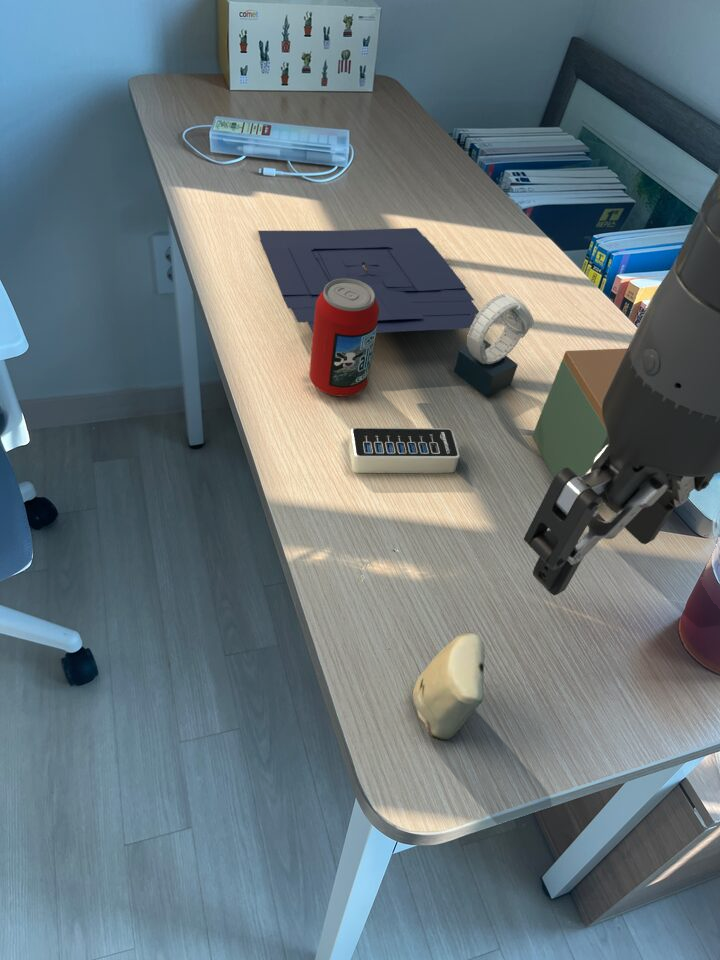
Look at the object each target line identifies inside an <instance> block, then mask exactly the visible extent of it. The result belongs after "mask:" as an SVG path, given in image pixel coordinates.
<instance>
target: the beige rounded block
mask: <svg viewBox="0 0 720 960" xmlns="http://www.w3.org/2000/svg"><path fill="white" fill-rule="evenodd" d="M484 673H485V644H484V641H483V639H482V637H481V636H480V635H479V634H477V633H475V632H472V631H464V632H462V633H459V634H457V635H456V637H454V639H453V640H452V641H451V642H449V643H448V644H447V645H446V646H445V647H443V649H441V650H440V651H439V652H438V653H437V654H436V655H435V656H434V657H433V658H432V660H431V661H430V662H429V664H428V665H427V666H426V668H425V669H424V670H423V671H422V672H421V674H420V675H419V676H418V677H417V679H416V681H415V685H414V688H413V690H412V691H413V692H412V698H413V702H414V705H415V708H416V712H417V716H418V717H419V719H420V720H421V721H422V722H423V723H424V726H425V728H426V731H427V733H428V734H429V735H430V737H431V738H433V739H437V740H440V741H443V742H444V741H449V740H450V739H451V738H452V737H453V736H455V735H456V733H457V732H458V731H459V730H460V729H461V728H462V726H463V725H464V724H465V722H466V721H467V720H468V719H469V717H470V716H471V715H472V714H473V713H474V711H475V710H476V709H477V708H478V707H479V706H480V705H481V703H482V702H483V700H484V680H485V679H484V675H485V674H484Z"/></svg>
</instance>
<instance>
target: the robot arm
mask: <svg viewBox="0 0 720 960" xmlns="http://www.w3.org/2000/svg"><path fill="white" fill-rule="evenodd" d="M705 196H706V197H705V198H704V200H703V202H702V203H701V206H700V208H699V209H698V212H697V214H696V216H695V218H694V220H693V222H692V224H691V226H690V229H689V231H688V233H687V235H686V237H685V239H684V241H683V244H682V245H681V247H680V249H679V252H678V254H677V256H676V258H675V260H674V262H673V264H672V266H671V267H670V269H669V270H668V272H667V273H666V275H665V276H664V278H663V280H662V281H661V283H660V284H659V285H658V287H657V288H656V290H655V291H654V293H653V295H652V297H651V299H650V301H649V303H648V305H647V307H646V309H645V311H644V313H643V315H642V317H641V319H640V321H639V324H638V326H637V327H636V329H635V332H634V334H633V336H632V338H631V340H630V342H629V345H628V347H627V348H628V349H627V351H626V353H625V355H624V357H623V359H622V361H621V363H620V366H619V368H618V370H617V372H616V374H615V376H614V378H613V380H612V382H611V385H610V387H609V389H608V391H607V393H606V395H605V397H604V400H603V404H602V415H603V420H604V423H605V426H606V430H607V435H608V441H609V444H607V445H606V446H605V447H604V448H603V450H602V451H601V452H600V453H599V454H598V455H597V456H596V457H595V459H594V464H593V466H592V468H591V469H590V470H589V471H588V472H587V473H586V474H585V475H583V476H580V477H579V476H578V475H577V474H576V473H574V472H573V471H572V470H571V469H570V468H569V467H567V468H564V469H562V470H561V471H560V472H558V473H557V475H556V476H555V477H554V478H553V479H552V481H551V483H550V485H549V487H548V489H547V491H546V493H545V495H544V497H543V499H542V501H541V502H540V505H539V507H538V509H537V511H536V513H535V515H534V517H533V519H532V521H531V523H530V525H529V526H528V529H527V531H526V533H525V534H524V536H523V541H524V542H525V543H527V545H528V546H529V547H530V548H531V549H532V550H533V551H534V553H536V554H537V555H538V559H537V561H536V563H535V565H534V567H533V570H532V576H533V577H534V578H535V579H536V580H537V581H538V582H539V584H541V586H542V587H543V588H544V589H546V591H547V592H549V593H550V594H551V595H553V596H557V595H559V594H561V593H563V592H564V591H566V590H567V587H568V586H569V584H570V582H571V580H572V579H573V577H574V576H575V573H576V571H577V570H578V568H579V566H580V565H581V562H582V561H583V559H584V557H585V556H586V555H587V554H588V553H589V552H590V551H591V550H592V549H593V548H594V547H595V546H596V545H597V544H598V543H599V542H600V541H601V540H602V539H605V540H612V539H615V538H616V537H617V536H618V535H619V533H621V532H622V530H624V529H625V530H626V531H627V532H628V533H630V535H631V536H633V537H634V539H636V541H638V542H639V543H640V544H642V545H647V544H648V543H650V542H652V541H654V540H655V539H656V538H657V536H658V535H659V533H660V532H661V530H662V529H663V527H664V525H665V523H666V522H667V521H668V520H669V518H670V516H671V514H672V513H673V512H674V510H675V508H678V507H681V506H683V505H684V504H685V503H686V502H688V499H689V498H690V494H691V492H692V491H693V490H695V491H696V492H701V491H702V490H705V489H706V488H707V487H708V486H709V485H710V482H711V481H712V480H713V478H714V477H715V475H717V474H719V473H720V167H719V168H718V173H717V176H716V178H715V180H714V181H713V183H712V185H711V187H710V188H709V190H708V191H707V194H706V195H705ZM601 503H603V504H604V505H605V506H606V507H607V508H608V509H609V510H610V511H612V512H613V513H615V515H614V516H613V517H612V518H611V519H609V520H607V521H606V519H605V518H604V517H602V516H601V514H599V513H600V510H599V509H598V508H599V507H600V505H601ZM587 527H588V531H587V532H586V534H584V532H585V530H586V529H587ZM583 534H584V536H582V535H583ZM581 537H582V538H581Z"/></svg>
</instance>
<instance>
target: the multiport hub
mask: <svg viewBox="0 0 720 960" xmlns="http://www.w3.org/2000/svg"><path fill="white" fill-rule="evenodd" d="M348 451H349V457H350V465H351V470H352V472H353V473H355V474H453V473H455V472H456V469H457V465H458V463H459V459H460V451H459V449H458V444H457V441H456V438H455V434H454V431H453V430H452V429H451V428H435V427H434V428H432V427H431V428H430V427H429V428H427V427H426V428H421V427H420V428H418V427H353V428H351V429H350V434H349V441H348Z"/></svg>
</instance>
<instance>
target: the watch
mask: <svg viewBox="0 0 720 960" xmlns="http://www.w3.org/2000/svg"><path fill="white" fill-rule="evenodd" d="M474 318H475V319H474V321H473V323H472V325H471V327H470V328H469V331H468V334H467V335H466V346H467V347H465V348H463V349H460V350H459V351H458V354H457V359H456V362H455V366H454V369H453V373H454V374H455V375H457V376H458V377H460V378H461V379H462V380H464V381H465V382H466V383H467V384H468V385H470V386H471V387H472V388H474V389H475V390H476V391H477V392H478V393H480V394H481V395H482V396H484V397H485V398H488V397H490V396H492V395H494V394H496V393H498V392H500V391H502V390H504V389H506V388H508V387H510V386H511V385H512V382H513V380H514V377H515V375H516V371H517V369H518V366H519V364H518V363H517V362H516V361H514V360H512V359H511V358H510V357H508V355H509V354H510V353H511V352H512V351H513V350H514V348H515V347H516V346H517V345H518V343H519V341H520V340H521V339H523V338H524V337H525V336H526V334H527V333H528V332H529V330H530V329H531V328H533V326H534V324H535V320H534V317H533V315H532V313H531V311H530V309H528V307H527V306H526V304H524V303H523V302H522V301H521V300H520V299H519V298H518V297H516V296H515V295H512V294H510V293H499V294H498V295H496V296H495V297H493V298H491V299H490V300H489V301H488V302H486V303H485V304H484V305H483V307H482V308H481V309H480V310H479V313H478V314H476V316H475V317H474ZM499 318H500V319H501V320H502V321H501V322H502V325H503V326H504V328H503V331H502V332H501V333H500V334H499V337H497V339H496V340H495V341H494V342H493V343H492V344H491V343H490V342H489V341H487V340H486V339H485V338H486V336H487V335H486V334H487V333H488V331H489V330H490V328H491V327H492V326H493V324H494V323H495V322H496V321H497V320H498V319H499Z"/></svg>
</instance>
